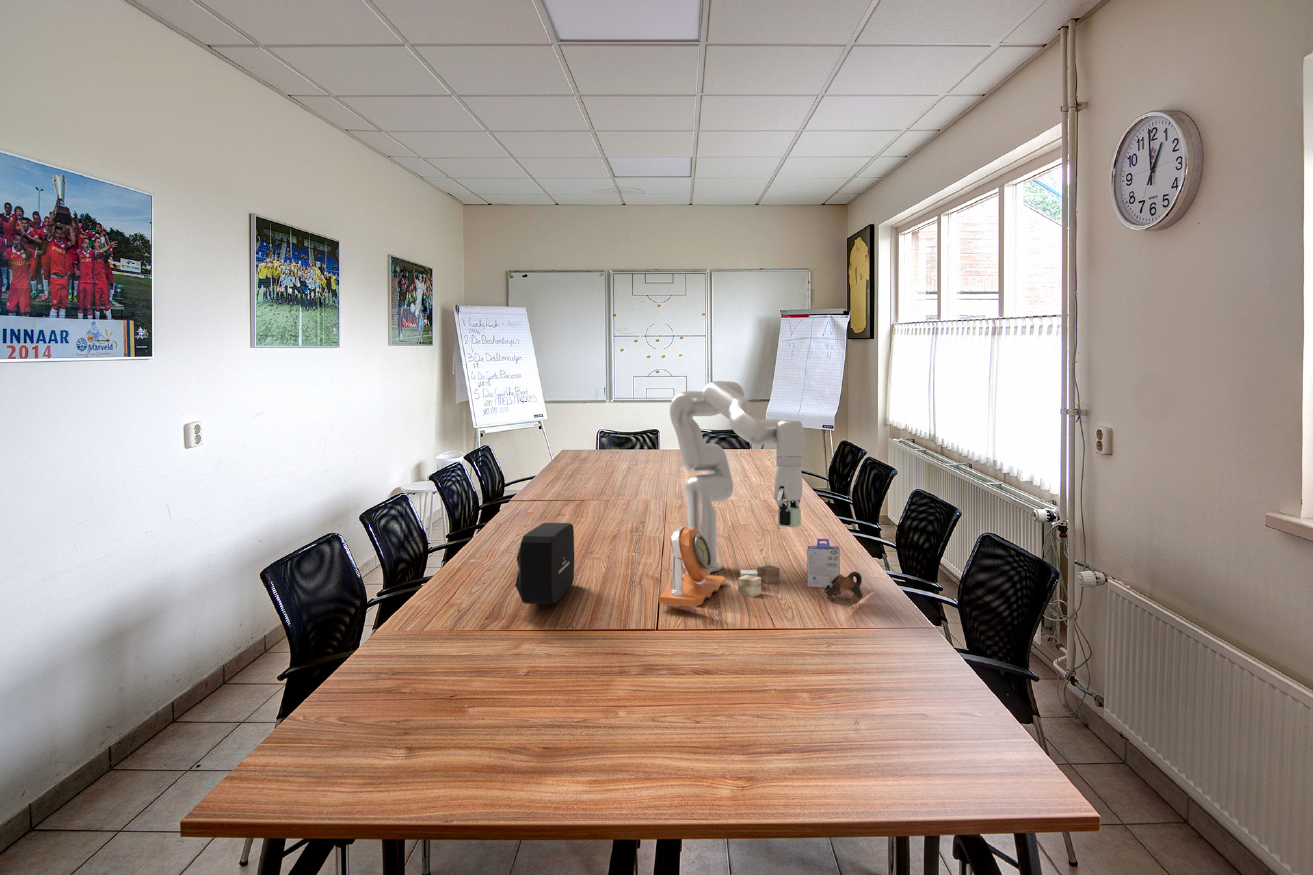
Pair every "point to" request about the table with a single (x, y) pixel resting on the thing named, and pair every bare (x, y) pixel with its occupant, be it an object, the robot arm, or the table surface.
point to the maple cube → (749, 586)
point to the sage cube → (792, 517)
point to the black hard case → (546, 563)
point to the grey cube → (749, 573)
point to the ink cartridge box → (822, 564)
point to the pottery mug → (845, 586)
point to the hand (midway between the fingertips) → (789, 523)
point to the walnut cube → (769, 574)
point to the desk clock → (690, 570)
